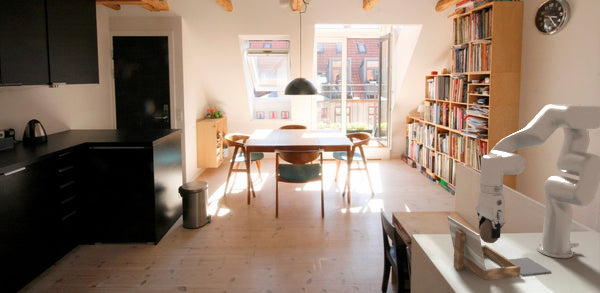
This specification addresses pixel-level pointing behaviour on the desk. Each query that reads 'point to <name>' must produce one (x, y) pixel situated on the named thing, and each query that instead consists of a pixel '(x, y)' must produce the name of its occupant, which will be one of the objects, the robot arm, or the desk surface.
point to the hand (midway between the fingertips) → (489, 233)
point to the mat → (529, 266)
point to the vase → (487, 232)
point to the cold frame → (478, 254)
